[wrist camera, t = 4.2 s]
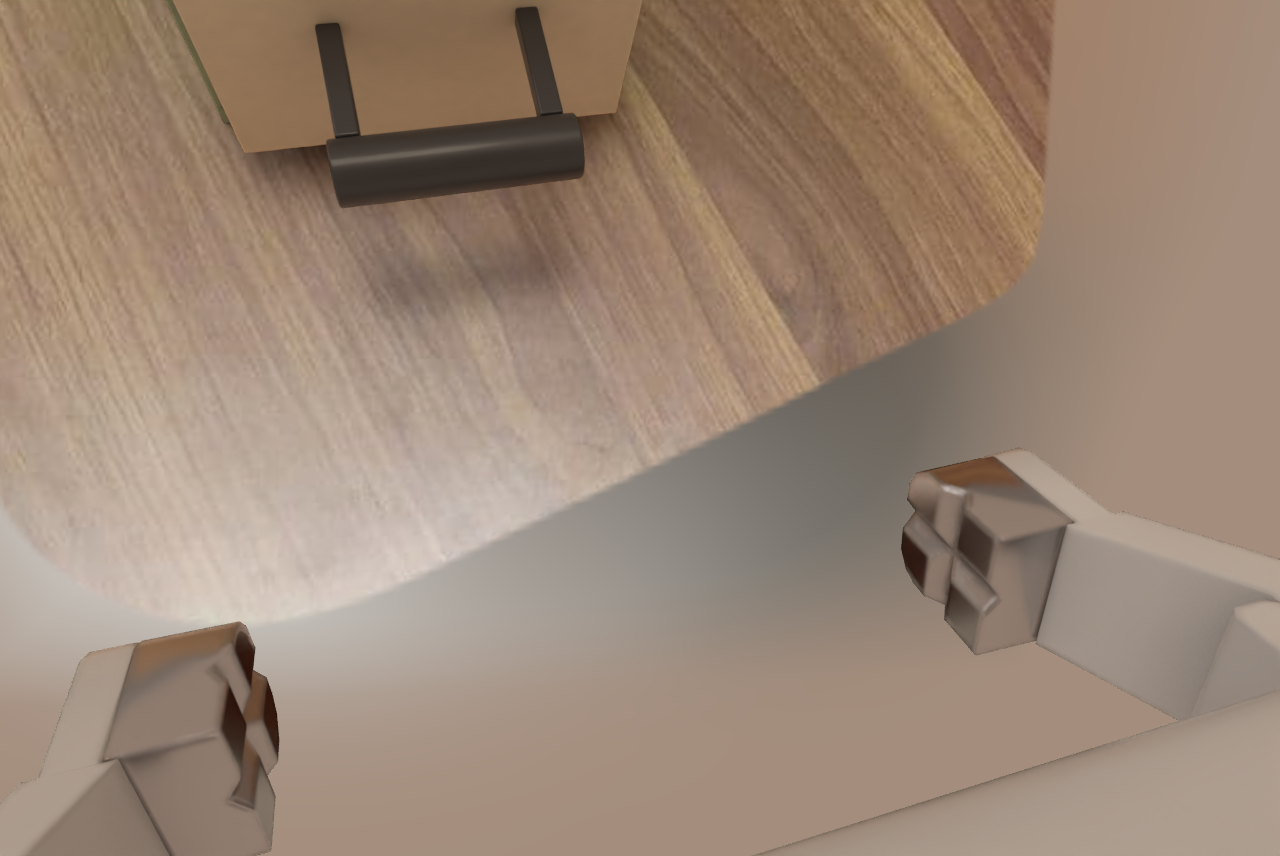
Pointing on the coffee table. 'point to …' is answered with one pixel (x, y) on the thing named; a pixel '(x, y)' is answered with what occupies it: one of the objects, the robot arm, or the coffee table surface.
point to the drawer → (417, 86)
